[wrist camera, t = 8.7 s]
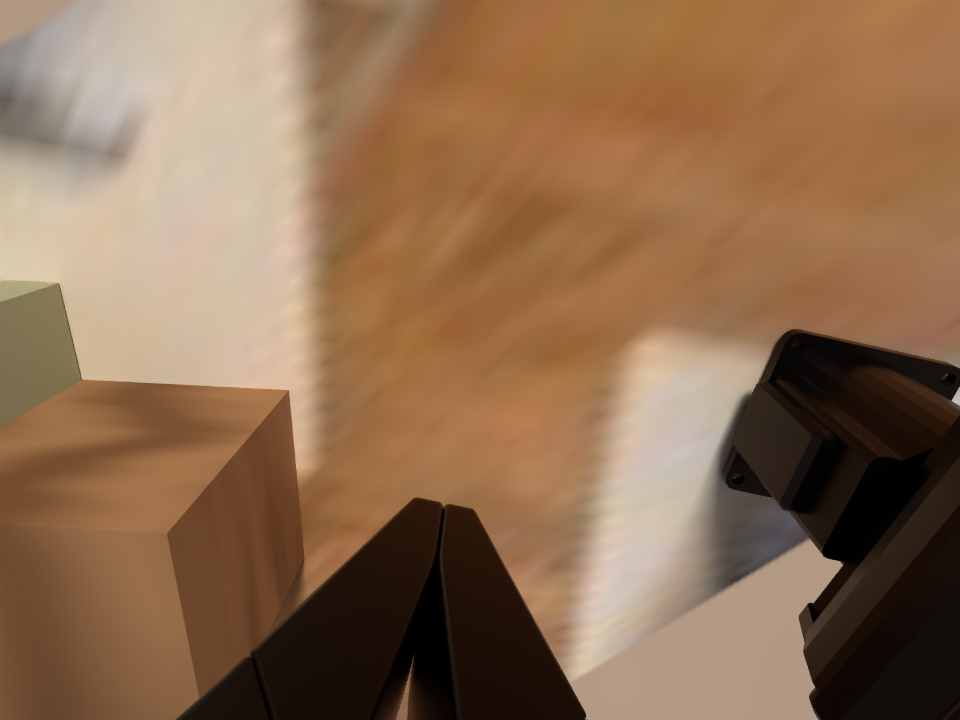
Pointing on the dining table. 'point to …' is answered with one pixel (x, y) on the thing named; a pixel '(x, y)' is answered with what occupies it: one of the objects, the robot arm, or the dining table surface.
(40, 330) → the stop board
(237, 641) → the walnut block
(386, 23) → the dining table surface
